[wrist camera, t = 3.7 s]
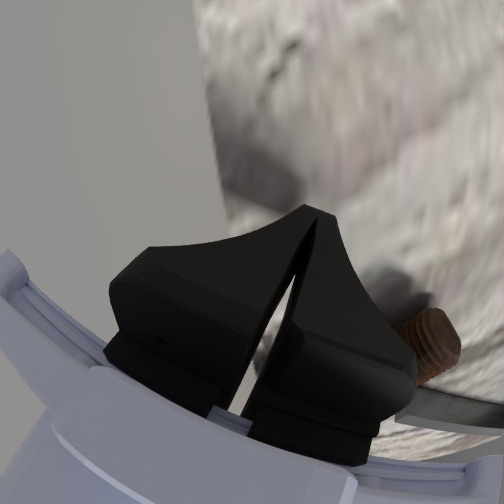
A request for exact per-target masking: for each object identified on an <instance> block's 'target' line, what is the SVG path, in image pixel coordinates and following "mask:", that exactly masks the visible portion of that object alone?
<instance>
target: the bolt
mask: <svg viewBox="0 0 504 504" xmlns="http://www.w3.org/2000/svg"><path fill="white" fill-rule="evenodd" d="M395 332H396V333H397V334H398V335H399V336H400V337H401V338H402V339H403V340H404V341H405V343H406V344H407V345H408V346H409V347H410V348H411V349H412V350H413V351H414V353H415V354H416V361H417V381H416V387H417V386H418V385H420V384H422V383H424V382H426V381H428V380H429V379H431V378H434V377H435V376H437V375H439V374H441V372H445V371H446V370H447V369H450V368H451V367H452V366H455V365H456V364H457V363H458V361H459V357H460V350H461V341H460V338H459V336H458V335H457V333H456V331H455V329H454V327H453V326H452V324H451V322H450V320H449V319H448V317H447V316H446V314H445V312H444V311H443V310H441V309H438V308H434V309H433V308H431V309H429V308H428V309H427V308H425V309H424V310H423V312H420V313H419V314H418V315H417V316H415V317H414V318H413V319H412V320H409V321H408V323H406V324H404V325H403V326H402V327H400V328H398V329H397V330H395ZM399 412H400V411H399ZM399 412H398V413H399Z"/></svg>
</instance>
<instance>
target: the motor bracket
mask: <svg viewBox="0 0 504 504" xmlns="http://www.w3.org/2000/svg"><path fill="white" fill-rule="evenodd" d="M394 422H396V423H401V424H406V425H411V426H416V427H422V428H428V429H434V430H441V431H448V432H456V433H465V434H476V435H491V436H504V406H502V405H496V404H491V403H486V402H481V401H476V400H471V399H467V398H462V397H458V396H454V395H450V394H446V393H441V392H438V391H434V390H430V389H426V388H422V387H419V386H417V387H416V395H415V397H414V398H413V400H412V402H411V403H410V404H408V405H407V406H406V407H405V408H403V409H402V410H401V411H400V412H399V413H396V414H395V420H394Z"/></svg>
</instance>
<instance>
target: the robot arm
mask: <svg viewBox="0 0 504 504" xmlns="http://www.w3.org/2000/svg"><path fill="white" fill-rule="evenodd" d="M294 275H295V278H294V282H293V285H292V289H291V292H290V296H289V299H288V303H287V306H286V310H285V313H284V317H283V320H282V323H281V326H280V328H279V331H278V333H277V336H276V338H275V340H274V343H273V345H272V347H271V350H270V352H269V354H268V356H267V359H266V361H265V363H264V365H263V368H262V370H261V372H260V374H259V377H258V379H257V381H256V383H255V385H254V388H253V390H252V392H251V394H250V396H249V398H248V400H247V402H246V404H245V406H244V408H243V411H242V413H241V415H240V416H238V415H235V414H233V413H231V412H228V411H227V410H228V408H229V406H230V404H231V402H232V400H233V398H234V396H235V394H236V392H237V390H238V388H239V386H240V384H241V381H242V379H243V377H244V375H245V373H246V371H247V368H248V366H249V364H250V362H251V360H252V358H253V356H254V354H255V351H256V349H257V347H258V345H259V343H260V341H261V338H262V336H263V334H264V332H265V329H266V327H267V325H268V323H269V321H270V319H271V317H272V315H273V313H274V311H275V310H276V308H277V306H278V304H279V303H280V301H281V299H282V297H283V295H284V294H285V292H286V290H287V288H288V286H289V285H290V283H291V281H292V279H293V277H294ZM109 297H110V303H111V306H112V309H113V312H114V315H115V318H116V321H117V324H118V327H119V332H118V333H117V334H116V335H115V336H114V337H113V338H112V340H111V341H110V342H109V343H108V344H107V343H106V342H104V341H103V340H102V339H100V338H99V337H97V336H96V335H95V334H93V333H92V332H91V331H89V330H88V329H87V328H85V327H84V326H83V325H82V324H80V323H79V322H78V321H76V320H75V319H74V318H73V317H71V316H70V315H69V314H68V313H67V312H65V311H64V310H63V309H62V308H60V307H59V306H58V305H57V304H56V303H55V302H54V301H52V300H51V299H50V298H49V297H48V296H47V295H46V294H44V293H43V292H42V291H41V290H40V289H39V288H38V287H37V286H36V285H35V284H34V283H33V282H32V281H31V280H30V279H29V275H28V273H27V271H26V269H25V267H24V265H23V263H22V262H21V261H20V259H19V258H18V257H16V255H15V254H13V252H11V250H9V249H7V250H6V251H5V252H4V253H2V254H1V255H0V348H1V350H2V351H3V353H4V354H5V356H6V357H7V359H8V360H9V361H10V362H11V364H12V366H13V367H14V368H15V370H16V371H17V372H18V374H19V375H20V376H21V378H22V379H23V380H24V381H25V383H26V384H27V385H28V386H29V387H30V389H31V390H32V391H33V392H34V393H35V395H36V396H37V397H38V398H39V399H40V400H41V402H43V404H44V405H45V406H46V407H47V409H46V410H45V412H44V413H43V414H42V416H41V417H40V418H39V420H38V421H37V422H36V424H35V425H34V427H33V428H32V430H31V431H30V432H29V434H28V435H27V437H26V438H25V439H24V441H23V442H22V444H21V445H20V447H19V448H18V450H17V451H16V453H15V454H14V456H13V457H12V459H11V460H10V462H9V463H8V465H7V466H6V468H5V470H4V471H3V473H2V474H1V476H0V504H498V499H499V493H500V485H501V476H502V464H503V456H502V455H488V456H483V457H479V458H477V459H474V460H472V461H470V462H468V463H467V464H448V463H426V462H415V461H405V460H397V459H390V458H383V457H377V456H371V455H369V451H370V446H371V442H372V437H373V438H374V437H376V436H377V435H378V434H379V429H380V423H381V422H382V421H384V420H386V419H387V418H389V417H391V416H393V415H394V414H396V413H398V412H399V411H401V410H402V409H403V408H405V407H406V406H407V405H408V404H410V403H411V402H412V400H413V398H414V397H415V395H416V381H417V361H416V354H415V353H414V351H413V350H412V349H411V348H410V347H409V346H408V345H407V344H406V343H405V341H404V340H403V339H402V338H401V337H400V336H399V335H398V334H397V333H396V332H395V330H394V329H393V328H392V327H391V325H390V324H389V323H388V322H387V320H386V319H385V318H384V317H383V315H382V314H381V313H380V311H379V310H378V309H377V307H376V306H375V304H374V303H373V301H372V300H371V298H370V297H369V295H368V294H367V292H366V290H365V289H364V287H363V286H362V284H361V282H360V280H359V278H358V276H357V274H356V273H355V271H354V269H353V267H352V265H351V262H350V260H349V257H348V255H347V252H346V249H345V247H344V244H343V241H342V238H341V234H340V231H339V227H338V223H337V219H336V217H335V216H334V215H331V214H329V213H326V212H324V211H321V210H319V209H316V208H313V207H311V206H308V205H305V204H304V205H301V206H300V207H298V208H297V209H295V210H294V211H292V212H291V213H289V214H288V215H286V216H284V217H282V218H281V219H279V220H277V221H275V222H273V223H271V224H269V225H267V226H265V227H263V228H260V229H258V230H255V231H253V232H250V233H247V234H244V235H241V236H237V237H233V238H228V239H224V240H220V241H215V242H209V243H202V244H193V245H183V246H163V247H162V246H160V247H148V248H147V249H146V250H145V251H143V252H142V253H141V254H139V255H138V256H137V257H136V258H135V259H134V260H133V261H132V262H131V263H130V264H129V265H128V266H127V267H126V268H124V270H122V271H121V272H120V273H119V274H118V275H117V276H116V277H115V278H114V279H113V280H112V281H111V282H110V286H109Z"/></svg>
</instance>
